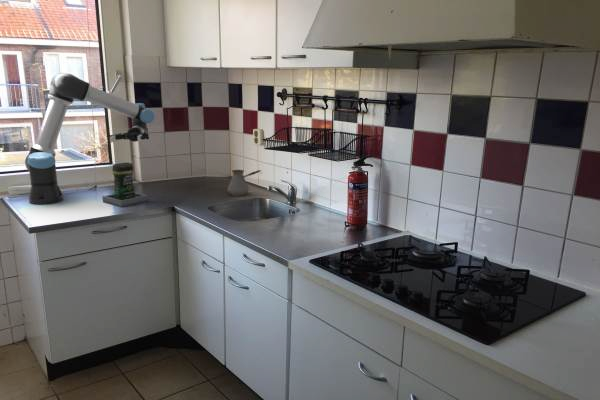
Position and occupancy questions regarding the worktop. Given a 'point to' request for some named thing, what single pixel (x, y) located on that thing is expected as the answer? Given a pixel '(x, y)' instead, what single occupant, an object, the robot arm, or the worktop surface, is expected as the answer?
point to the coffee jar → (123, 181)
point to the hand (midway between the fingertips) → (124, 139)
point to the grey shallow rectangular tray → (122, 203)
